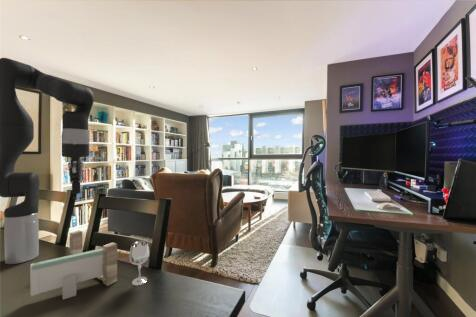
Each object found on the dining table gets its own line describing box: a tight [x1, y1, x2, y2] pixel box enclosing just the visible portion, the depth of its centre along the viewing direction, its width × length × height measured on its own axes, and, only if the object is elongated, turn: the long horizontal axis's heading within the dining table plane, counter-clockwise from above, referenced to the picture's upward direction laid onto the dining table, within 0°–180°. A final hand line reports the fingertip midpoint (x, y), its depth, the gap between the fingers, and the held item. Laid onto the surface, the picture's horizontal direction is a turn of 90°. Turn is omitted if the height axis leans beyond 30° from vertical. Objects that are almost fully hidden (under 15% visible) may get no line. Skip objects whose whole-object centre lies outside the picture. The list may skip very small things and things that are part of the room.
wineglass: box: [129, 240, 150, 286], centre depth 68 cm, size 6×6×12 cm
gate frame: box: [69, 230, 118, 287], centre depth 72 cm, size 24×3×12 cm, turn 61°
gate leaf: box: [29, 247, 103, 297], centre depth 63 cm, size 18×2×8 cm, turn 126°
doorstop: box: [61, 274, 77, 300], centre depth 61 cm, size 3×3×5 cm
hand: (76, 193), depth 73 cm, fingers closed
